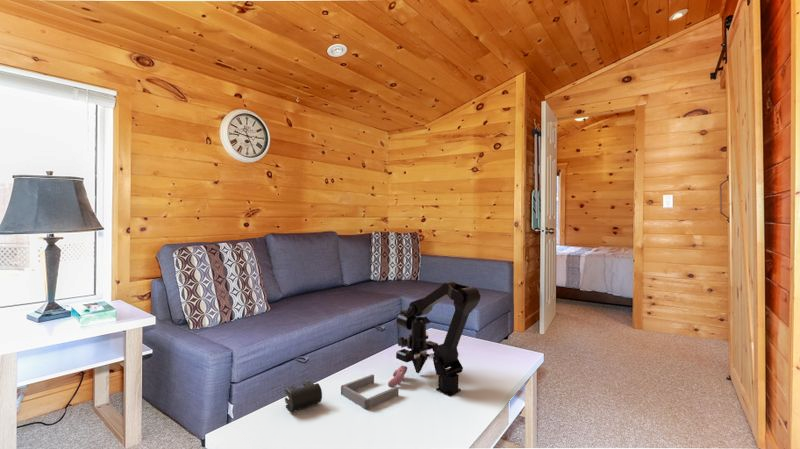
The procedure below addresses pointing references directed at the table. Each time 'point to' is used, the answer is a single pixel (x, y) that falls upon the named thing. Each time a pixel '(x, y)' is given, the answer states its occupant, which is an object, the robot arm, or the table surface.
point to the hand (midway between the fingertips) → (417, 372)
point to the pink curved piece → (398, 376)
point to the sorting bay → (365, 403)
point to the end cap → (303, 396)
